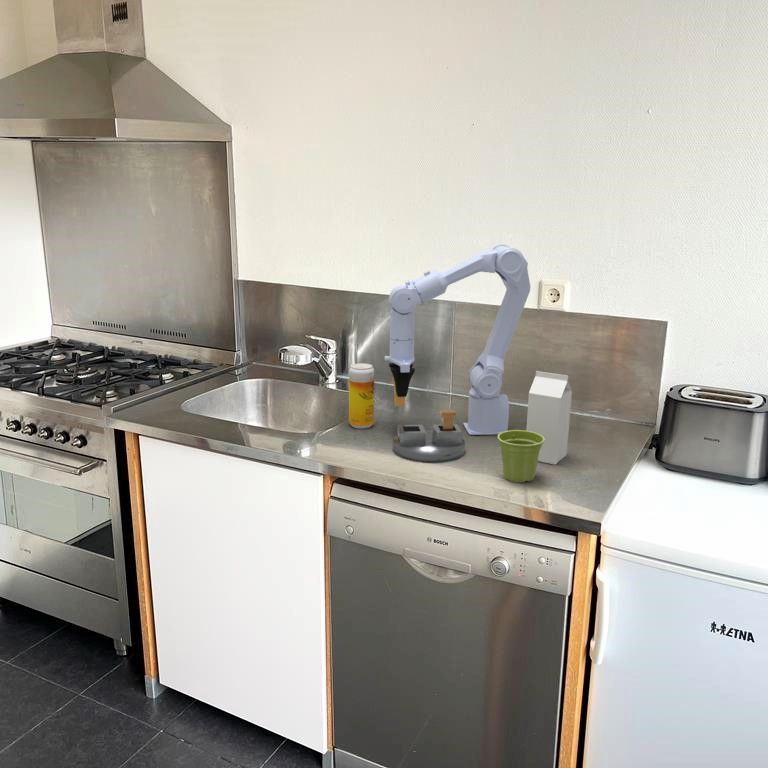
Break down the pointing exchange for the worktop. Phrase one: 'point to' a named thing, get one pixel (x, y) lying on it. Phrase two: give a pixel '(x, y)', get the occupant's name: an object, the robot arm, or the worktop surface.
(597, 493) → the worktop surface
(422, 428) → the two socket peg base
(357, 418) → the beer can
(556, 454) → the milk carton
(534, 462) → the plant pot
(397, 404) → the wedge pin
